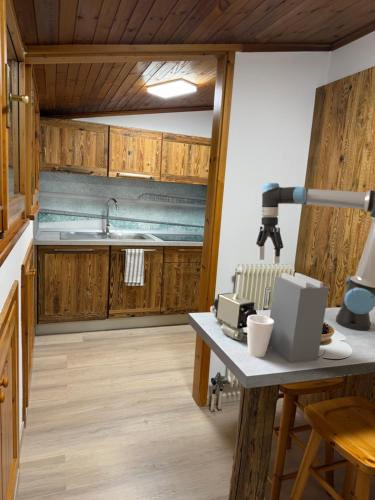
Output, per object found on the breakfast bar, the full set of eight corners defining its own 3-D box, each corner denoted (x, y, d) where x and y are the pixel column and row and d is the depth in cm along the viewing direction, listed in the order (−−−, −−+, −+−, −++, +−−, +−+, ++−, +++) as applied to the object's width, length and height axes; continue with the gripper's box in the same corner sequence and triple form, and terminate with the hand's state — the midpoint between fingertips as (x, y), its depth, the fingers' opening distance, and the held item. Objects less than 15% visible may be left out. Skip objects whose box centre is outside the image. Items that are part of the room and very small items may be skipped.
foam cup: (238, 349, 129) (242, 316, 127) (257, 345, 133) (261, 313, 131) (255, 361, 121) (259, 325, 118) (275, 356, 125) (279, 322, 123)
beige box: (205, 304, 154) (222, 302, 160) (203, 320, 155) (220, 317, 161) (218, 311, 146) (236, 308, 152) (217, 327, 148) (234, 324, 153)
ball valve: (256, 343, 136) (262, 299, 133) (240, 347, 131) (246, 302, 128) (225, 326, 150) (230, 286, 147) (210, 329, 145) (214, 288, 142)
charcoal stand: (291, 341, 140) (301, 272, 135) (317, 359, 126) (329, 282, 121) (266, 344, 135) (275, 272, 131) (290, 362, 122) (301, 283, 117)
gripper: (250, 216, 174) (249, 258, 176) (277, 216, 150) (275, 265, 152) (263, 216, 176) (262, 258, 178) (292, 216, 152) (290, 264, 154)
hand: (268, 261), depth 165 cm, fingers open, 13 cm apart
